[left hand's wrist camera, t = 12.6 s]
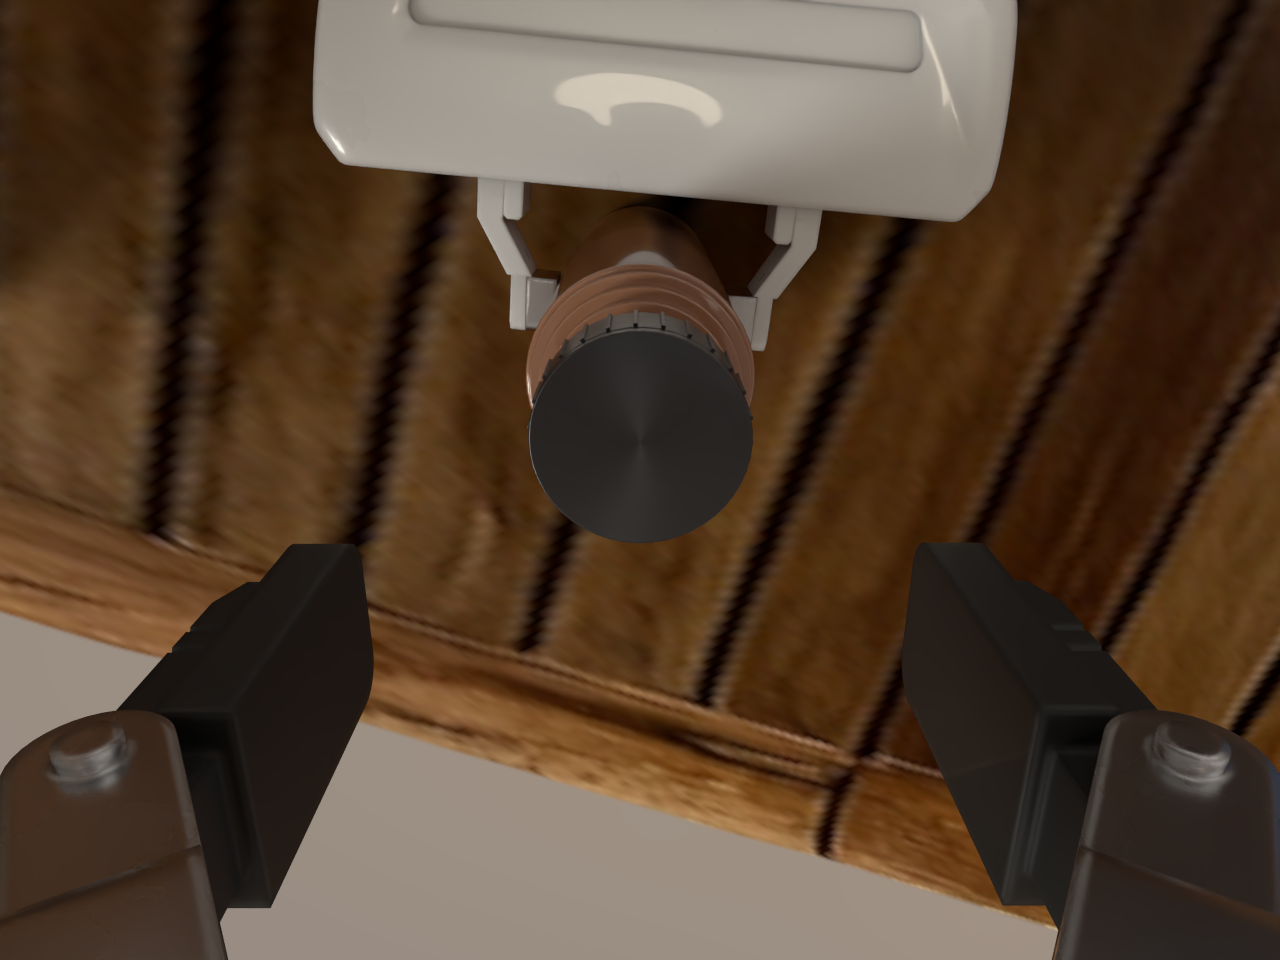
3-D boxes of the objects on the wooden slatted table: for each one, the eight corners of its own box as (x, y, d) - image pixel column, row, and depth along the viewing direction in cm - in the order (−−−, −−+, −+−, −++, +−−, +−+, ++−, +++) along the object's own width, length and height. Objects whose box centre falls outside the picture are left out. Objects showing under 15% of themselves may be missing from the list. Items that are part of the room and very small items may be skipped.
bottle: (738, 268, 36) (837, 416, 18) (649, 373, 37) (659, 607, 19) (629, 175, 34) (618, 234, 16) (542, 288, 36) (446, 454, 18)
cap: (788, 398, 19) (803, 426, 17) (654, 546, 20) (655, 585, 19) (624, 262, 18) (622, 277, 16) (494, 428, 19) (479, 458, 18)
